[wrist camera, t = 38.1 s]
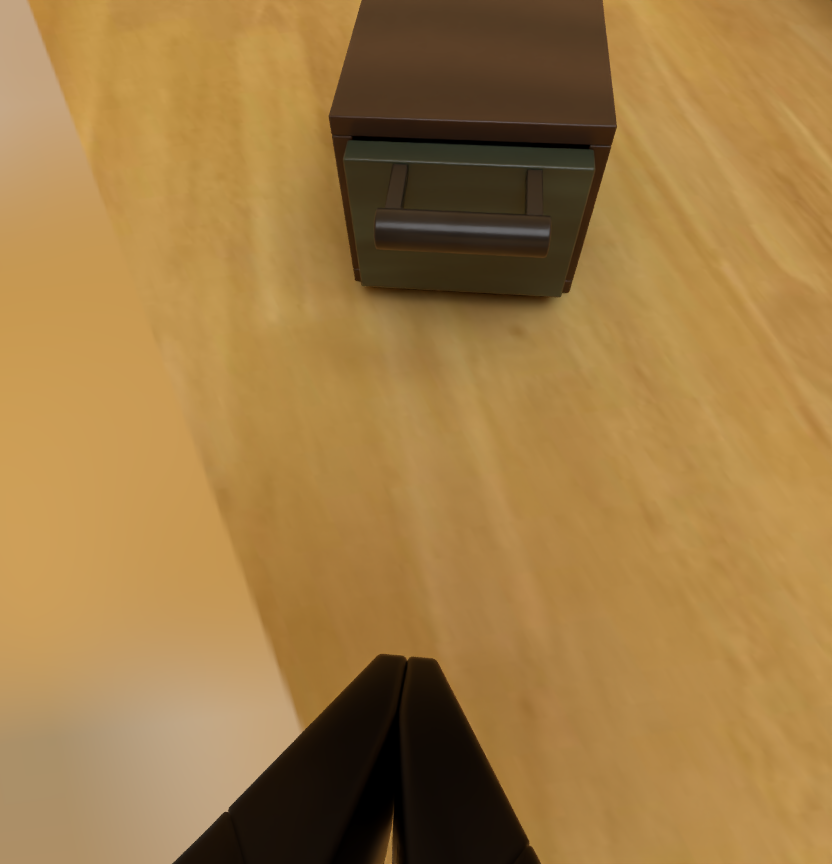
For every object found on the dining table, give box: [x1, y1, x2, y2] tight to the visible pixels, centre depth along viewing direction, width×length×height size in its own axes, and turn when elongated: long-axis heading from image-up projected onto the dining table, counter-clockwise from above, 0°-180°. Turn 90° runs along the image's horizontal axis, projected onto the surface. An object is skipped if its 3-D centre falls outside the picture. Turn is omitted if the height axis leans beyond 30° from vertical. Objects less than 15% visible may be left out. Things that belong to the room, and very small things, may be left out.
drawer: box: [343, 137, 595, 297], centre depth 27 cm, size 16×9×7 cm, turn 174°
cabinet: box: [329, 0, 617, 292], centre depth 29 cm, size 14×11×9 cm
